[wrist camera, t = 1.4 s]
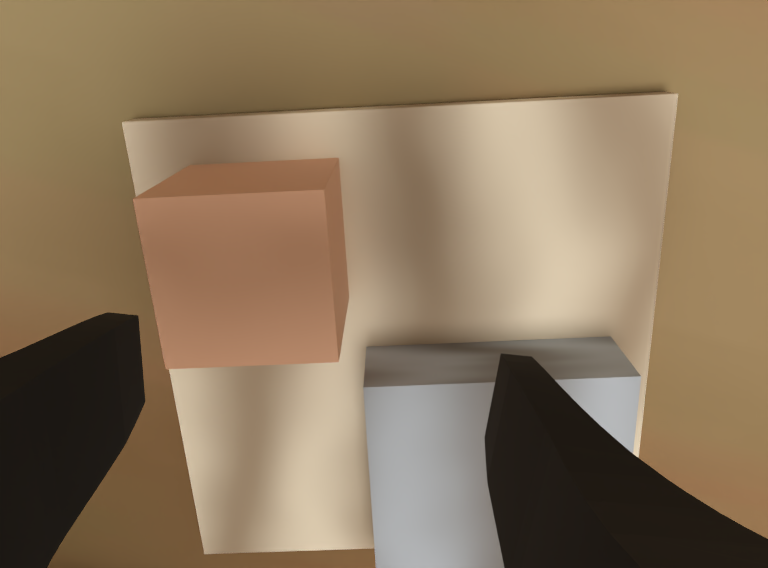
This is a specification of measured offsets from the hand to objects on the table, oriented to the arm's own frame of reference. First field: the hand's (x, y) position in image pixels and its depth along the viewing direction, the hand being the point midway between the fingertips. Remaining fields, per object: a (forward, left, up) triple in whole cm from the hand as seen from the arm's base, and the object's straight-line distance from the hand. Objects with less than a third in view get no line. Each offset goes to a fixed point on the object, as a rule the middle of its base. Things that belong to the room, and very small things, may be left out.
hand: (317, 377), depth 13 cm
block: (-3, 0, -10) cm, 10 cm away
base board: (+2, -5, -11) cm, 12 cm away
